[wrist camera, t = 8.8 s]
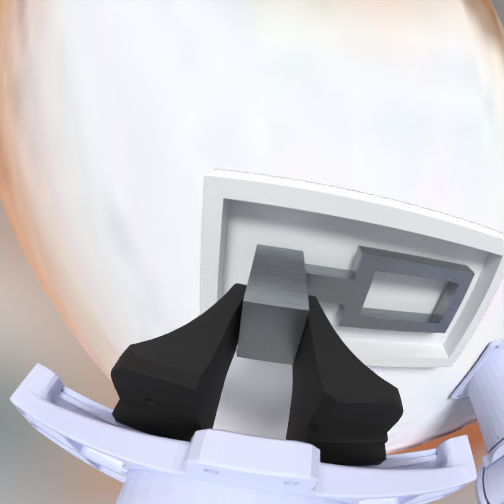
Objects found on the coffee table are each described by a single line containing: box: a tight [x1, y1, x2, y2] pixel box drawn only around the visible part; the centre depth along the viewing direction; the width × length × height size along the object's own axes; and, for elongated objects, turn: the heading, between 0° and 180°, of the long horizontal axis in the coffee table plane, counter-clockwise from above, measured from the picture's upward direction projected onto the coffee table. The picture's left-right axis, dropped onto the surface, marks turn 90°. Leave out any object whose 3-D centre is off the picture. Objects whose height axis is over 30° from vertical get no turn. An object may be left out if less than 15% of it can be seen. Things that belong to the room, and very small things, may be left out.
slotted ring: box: [237, 244, 475, 364], centre depth 12 cm, size 13×5×5 cm, turn 83°
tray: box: [200, 169, 504, 367], centre depth 15 cm, size 19×10×2 cm, turn 83°
